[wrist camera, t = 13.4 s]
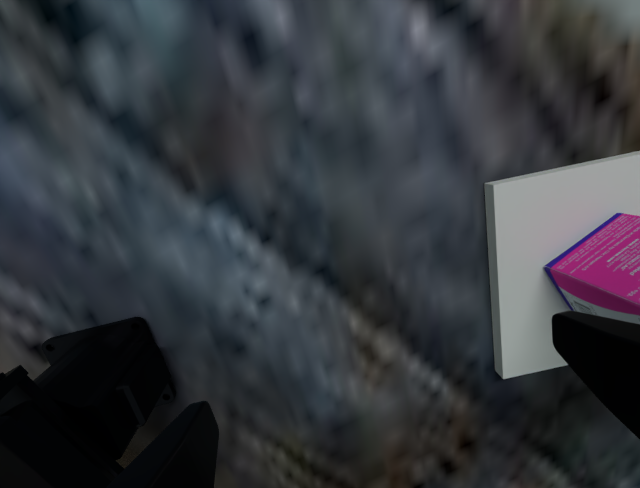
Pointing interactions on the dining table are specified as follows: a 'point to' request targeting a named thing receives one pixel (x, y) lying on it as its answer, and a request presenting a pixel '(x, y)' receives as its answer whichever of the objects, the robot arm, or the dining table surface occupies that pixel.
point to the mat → (545, 248)
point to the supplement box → (602, 270)
